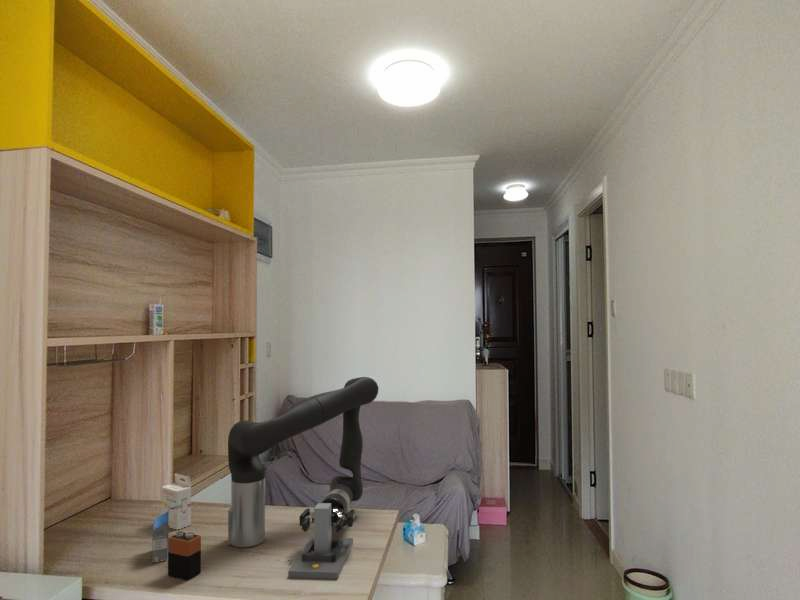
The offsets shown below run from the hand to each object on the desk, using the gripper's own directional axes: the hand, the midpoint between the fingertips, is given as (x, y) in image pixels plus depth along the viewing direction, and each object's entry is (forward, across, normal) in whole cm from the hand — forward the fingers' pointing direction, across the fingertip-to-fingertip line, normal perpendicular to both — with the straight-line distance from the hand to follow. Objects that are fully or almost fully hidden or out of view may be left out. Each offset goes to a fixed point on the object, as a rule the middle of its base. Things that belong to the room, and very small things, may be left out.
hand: (321, 528), depth 128 cm
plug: (-2, 0, +7) cm, 7 cm away
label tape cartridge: (-2, -44, +9) cm, 45 cm away
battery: (+8, -32, +9) cm, 34 cm away
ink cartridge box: (-22, -51, +9) cm, 56 cm away
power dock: (-2, 0, +8) cm, 9 cm away
